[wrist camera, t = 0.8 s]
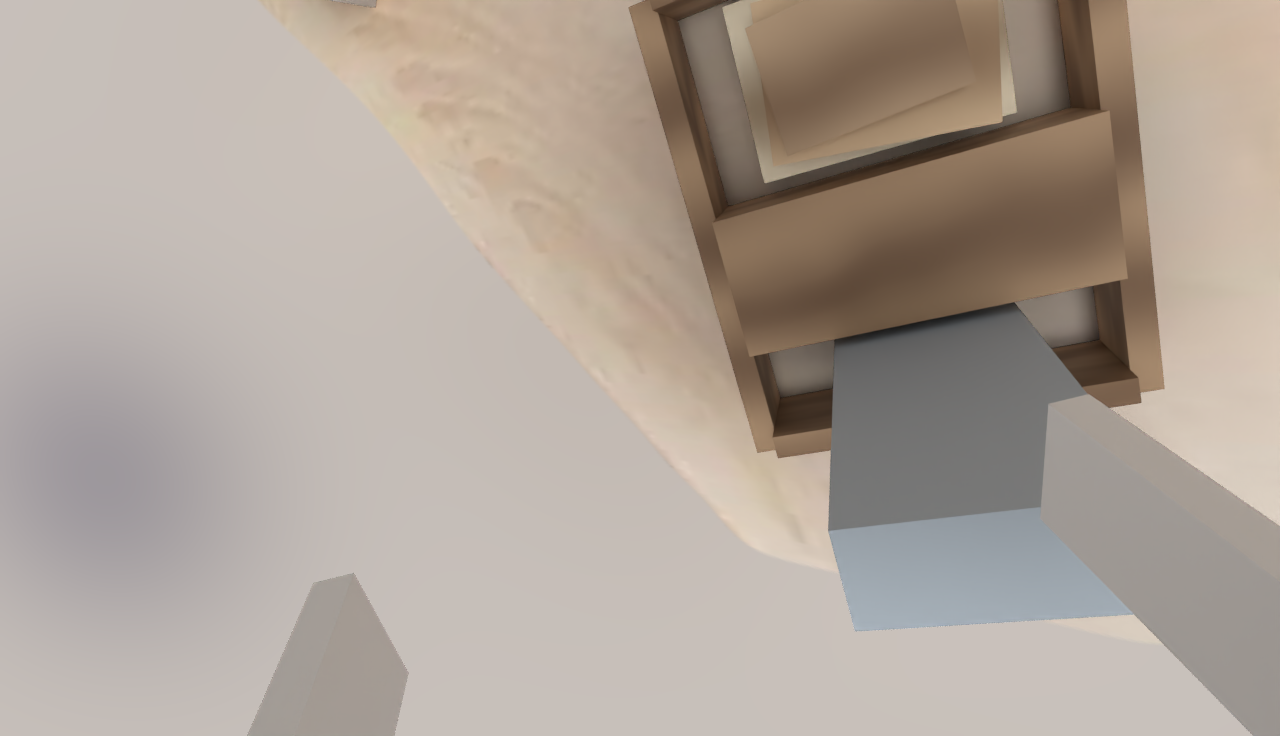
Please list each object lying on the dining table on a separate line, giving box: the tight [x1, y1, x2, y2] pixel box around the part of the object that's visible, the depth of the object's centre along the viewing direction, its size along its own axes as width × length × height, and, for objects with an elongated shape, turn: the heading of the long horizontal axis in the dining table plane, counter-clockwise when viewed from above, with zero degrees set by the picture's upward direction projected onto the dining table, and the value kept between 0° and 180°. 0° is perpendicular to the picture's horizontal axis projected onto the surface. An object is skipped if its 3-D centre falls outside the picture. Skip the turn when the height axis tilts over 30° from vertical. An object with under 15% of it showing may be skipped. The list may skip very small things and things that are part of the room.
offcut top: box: [745, 0, 976, 156], centre depth 27 cm, size 5×7×2 cm
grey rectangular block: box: [828, 302, 1133, 631], centre depth 27 cm, size 4×8×20 cm, turn 108°
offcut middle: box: [750, 0, 1003, 167], centre depth 29 cm, size 6×9×3 cm
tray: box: [629, 0, 1164, 458], centre depth 32 cm, size 23×18×5 cm
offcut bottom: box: [722, 0, 1017, 184], centre depth 32 cm, size 8×11×3 cm
